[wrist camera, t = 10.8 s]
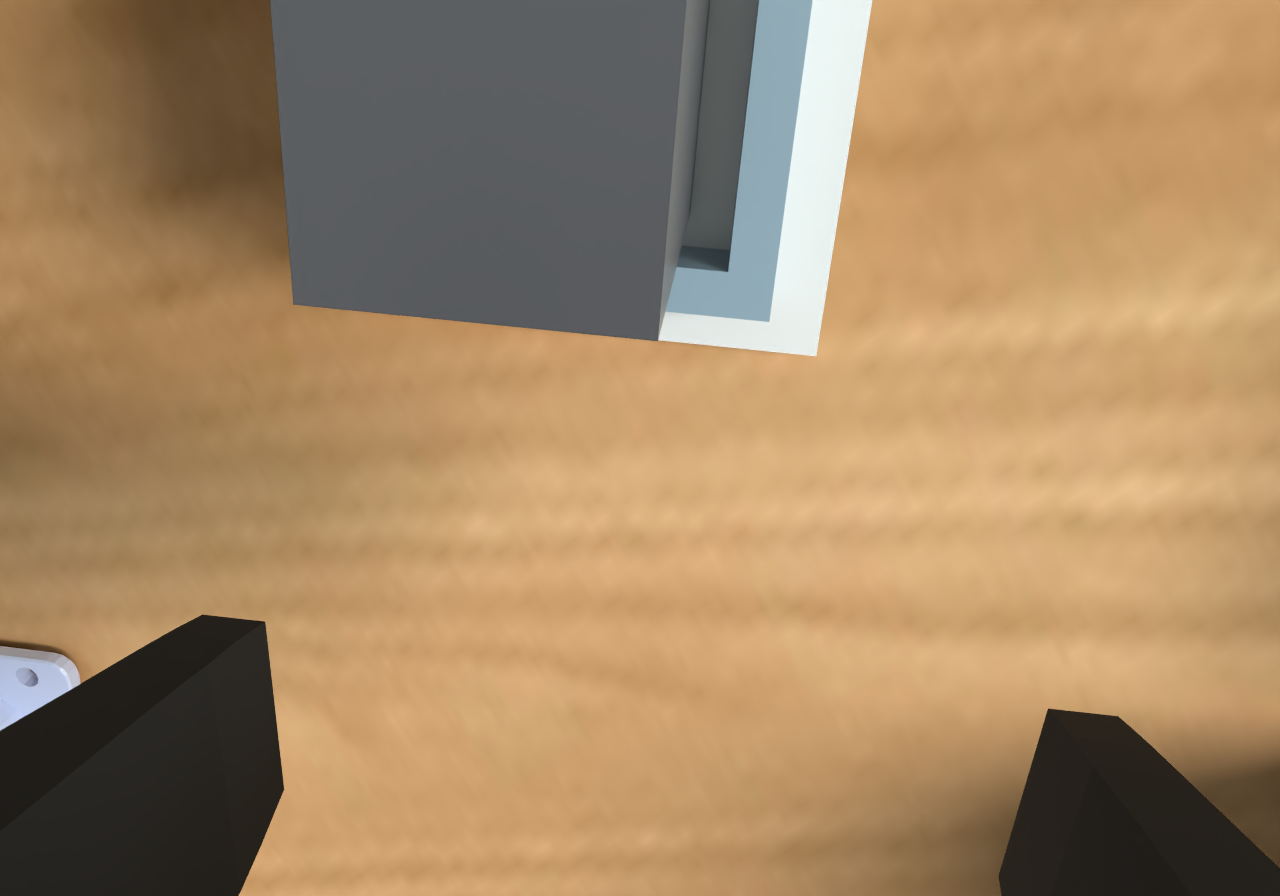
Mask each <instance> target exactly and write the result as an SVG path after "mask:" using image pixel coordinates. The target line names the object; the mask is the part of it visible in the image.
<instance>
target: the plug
mask: <svg viewBox="0 0 1280 896" xmlns="http://www.w3.org/2000/svg"><path fill="white" fill-rule="evenodd" d="M270 5H271V18H272V31H273V44H274V57H275V70H276V83H277V96H278V109H279V122H280V135H281V149H282V162H283V175H284V188H285V201H286V214H287V227H288V240H289V253H290V266H291V279H292V292H293V305H303V306H313V307H323V308H333V309H343V310H353V311H363V312H373V313H383V314H393V315H403V316H413V317H423V318H433V319H443V320H453V321H463V322H473V323H483V324H493V325H503V326H512V327H522V328H532V329H542V330H552V331H562V332H572V333H582V334H592V335H602V336H612V337H622V338H632V339H642V340H652V341H658V339H659V335H660V331H661V327H662V323H663V319H664V315H665V311H666V307H667V303H668V299H669V295H670V291H671V287H672V283H673V279H674V275H675V271H676V267H677V263H678V259H679V255H680V251H681V248H682V244H683V240H684V236H685V232H686V228H687V224H688V220H689V216H690V212H691V201H692V191H693V180H694V169H695V159H696V148H697V137H698V126H699V116H700V105H701V94H702V84H703V73H704V62H705V52H706V41H707V30H708V19H709V9H710V0H270Z"/></svg>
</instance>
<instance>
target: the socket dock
mask: <svg viewBox="0 0 1280 896" xmlns="http://www.w3.org/2000/svg"><path fill="white" fill-rule="evenodd" d="M871 5H872V0H710V9H709V19H708V30H707V41H706V52H705V62H704V73H703V84H702V94H701V105H700V116H699V126H698V137H697V148H696V159H695V169H694V180H693V191H692V201H691V212H690V216H689V220H688V224H687V228H686V232H685V236H684V240H683V244H682V248H681V251H680V255H679V259H678V263H677V267H676V271H675V275H674V279H673V283H672V287H671V291H670V295H669V299H668V303H667V307H666V311H665V315H664V319H663V323H662V327H661V331H660V335H659V339H658V340H662V341H672V342H682V343H692V344H702V345H711V346H721V347H731V348H741V349H751V350H760V351H770V352H780V353H790V354H799V355H809V356H816V354H817V347H818V341H819V335H820V328H821V322H822V316H823V309H824V303H825V297H826V290H827V284H828V278H829V271H830V265H831V259H832V252H833V246H834V240H835V233H836V227H837V221H838V214H839V208H840V201H841V195H842V189H843V182H844V176H845V170H846V163H847V157H848V151H849V144H850V138H851V132H852V125H853V119H854V113H855V106H856V100H857V94H858V87H859V81H860V75H861V68H862V62H863V56H864V49H865V43H866V37H867V30H868V24H869V18H870V11H871Z"/></svg>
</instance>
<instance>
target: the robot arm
mask: <svg viewBox="0 0 1280 896" xmlns="http://www.w3.org/2000/svg"><path fill="white" fill-rule="evenodd" d="M29 669H30V670H32V671H33V672H34V673H36V674H34V673H33V672H32V671H30V670H29ZM283 791H284V785H283V776H282V767H281V758H280V749H279V740H278V732H277V723H276V714H275V705H274V696H273V687H272V678H271V669H270V660H269V652H268V643H267V634H266V625H265V622H263V621H254V620H245V619H236V618H227V617H218V616H209V615H201V616H199V617H197V618H195V619H193V620H191V621H189V622H188V623H186V624H184V625H182V626H180V627H178V628H176V629H174V630H172V631H171V632H169V633H167V634H165V635H163V636H162V637H160V638H158V639H156V640H155V641H153V642H151V643H149V644H148V645H146V646H144V647H142V648H141V649H139V650H137V651H136V652H134V653H132V654H130V655H129V656H127V657H125V658H124V659H122V660H120V661H118V662H117V663H115V664H113V665H112V666H110V667H108V668H107V669H105V670H103V671H101V672H100V673H98V674H96V675H95V676H93V677H91V678H90V679H88V680H86V681H85V682H83V683H81V682H80V677H79V673H78V670H77V668H76V666H75V664H74V663H73V662H72V661H71V660H70V659H68V658H67V657H65V656H64V655H61V654H57V653H53V652H45V651H36V650H28V649H20V648H12V647H4V646H0V896H238V895H239V893H240V892H241V889H242V887H243V885H244V883H245V880H246V878H247V876H248V874H249V871H250V869H251V867H252V865H253V862H254V860H255V858H256V856H257V853H258V851H259V849H260V846H261V844H262V842H263V839H264V837H265V834H266V832H267V830H268V827H269V825H270V822H271V820H272V817H273V815H274V812H275V810H276V808H277V805H278V803H279V800H280V798H281V795H282V793H283ZM999 881H1000V887H1001V893H1002V896H1280V868H1279V867H1278V866H1277V865H1276V864H1275V863H1273V862H1272V861H1271V860H1270V859H1269V858H1268V857H1267V856H1266V855H1265V854H1264V853H1263V852H1262V851H1261V850H1260V849H1259V848H1258V847H1257V846H1255V845H1254V844H1253V843H1252V842H1251V841H1250V840H1249V839H1248V838H1247V837H1246V836H1245V835H1244V834H1243V833H1242V832H1241V831H1240V830H1239V829H1238V828H1237V827H1236V826H1234V825H1233V824H1232V823H1231V822H1230V821H1229V820H1228V819H1227V818H1226V817H1225V816H1224V815H1223V814H1222V813H1221V812H1220V811H1219V810H1218V809H1217V808H1216V807H1215V806H1214V805H1213V804H1212V803H1210V802H1209V801H1208V800H1207V799H1206V798H1205V797H1204V796H1203V795H1202V794H1201V793H1200V792H1199V791H1198V790H1197V789H1196V788H1195V787H1194V786H1193V785H1192V784H1191V783H1190V782H1189V781H1188V780H1186V779H1185V778H1184V777H1183V776H1182V775H1181V774H1180V773H1179V772H1178V771H1177V770H1176V769H1175V768H1174V767H1173V766H1172V765H1171V764H1170V763H1169V762H1168V761H1167V760H1166V759H1164V758H1163V757H1162V756H1161V755H1160V754H1159V753H1158V752H1157V751H1156V750H1155V749H1154V748H1153V747H1152V746H1151V745H1150V744H1149V743H1147V742H1146V741H1145V740H1144V739H1143V738H1142V737H1141V736H1140V735H1139V734H1138V733H1137V732H1135V731H1134V730H1133V729H1132V728H1131V727H1130V726H1129V725H1127V724H1126V723H1125V722H1124V721H1123V720H1122V719H1121V718H1119V717H1118V716H1110V715H1100V714H1091V713H1082V712H1073V711H1064V710H1055V709H1048V711H1047V714H1046V718H1045V721H1044V724H1043V728H1042V731H1041V735H1040V738H1039V741H1038V745H1037V748H1036V751H1035V755H1034V758H1033V762H1032V765H1031V768H1030V772H1029V775H1028V778H1027V782H1026V785H1025V789H1024V792H1023V795H1022V799H1021V802H1020V805H1019V809H1018V812H1017V816H1016V819H1015V822H1014V826H1013V829H1012V832H1011V836H1010V839H1009V843H1008V846H1007V849H1006V853H1005V856H1004V860H1003V863H1002V866H1001V870H1000V873H999Z"/></svg>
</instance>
